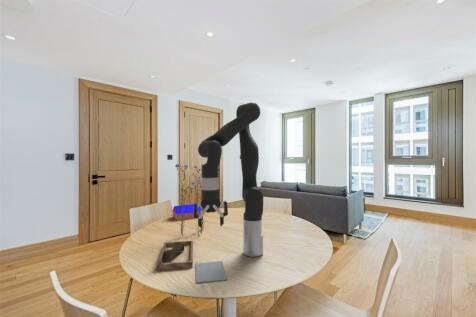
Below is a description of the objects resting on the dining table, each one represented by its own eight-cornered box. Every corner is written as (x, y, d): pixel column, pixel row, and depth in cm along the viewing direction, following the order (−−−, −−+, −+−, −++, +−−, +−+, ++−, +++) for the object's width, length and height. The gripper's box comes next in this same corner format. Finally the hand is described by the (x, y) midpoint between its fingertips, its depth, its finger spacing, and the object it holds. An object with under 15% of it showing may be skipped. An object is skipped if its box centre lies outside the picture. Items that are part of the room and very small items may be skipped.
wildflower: (213, 230, 150) (213, 162, 149) (206, 243, 127) (206, 163, 127) (180, 229, 151) (180, 162, 151) (167, 242, 128) (167, 163, 128)
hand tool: (177, 250, 116) (177, 241, 116) (184, 251, 115) (184, 242, 115) (156, 263, 97) (156, 252, 98) (164, 264, 96) (165, 253, 97)
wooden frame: (193, 245, 124) (193, 240, 124) (192, 267, 99) (192, 261, 99) (164, 247, 121) (164, 242, 121) (156, 270, 96) (156, 264, 96)
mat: (222, 261, 104) (222, 260, 104) (227, 280, 88) (227, 279, 88) (196, 264, 102) (196, 263, 102) (196, 283, 86) (196, 282, 86)
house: (201, 219, 177) (201, 204, 177) (176, 223, 166) (176, 207, 166) (196, 216, 187) (196, 202, 187) (172, 219, 177) (172, 204, 177)
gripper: (225, 186, 100) (226, 222, 100) (193, 187, 97) (193, 225, 97) (228, 188, 93) (229, 227, 93) (193, 190, 90) (193, 230, 90)
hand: (211, 226), depth 95 cm, fingers open, 8 cm apart
